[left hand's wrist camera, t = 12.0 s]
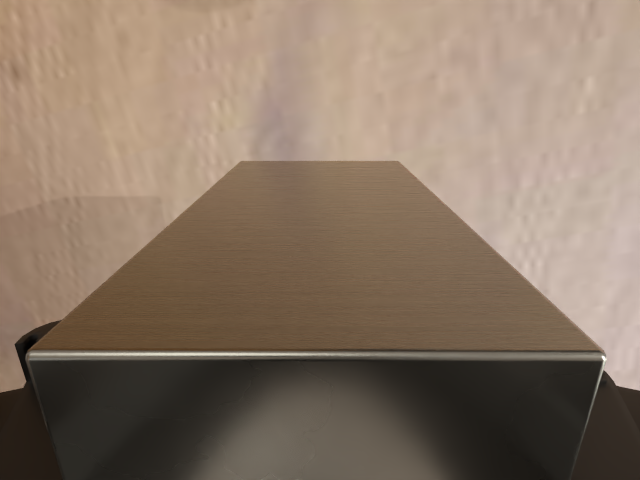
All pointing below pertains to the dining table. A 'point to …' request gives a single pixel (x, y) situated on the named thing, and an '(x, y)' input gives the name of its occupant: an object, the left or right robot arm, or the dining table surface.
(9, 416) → the left robot arm
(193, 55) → the dining table surface
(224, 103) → the dining table surface
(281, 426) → the box
